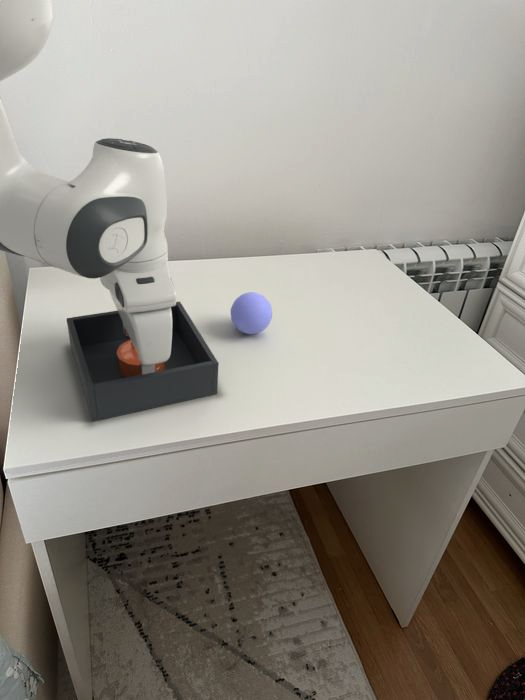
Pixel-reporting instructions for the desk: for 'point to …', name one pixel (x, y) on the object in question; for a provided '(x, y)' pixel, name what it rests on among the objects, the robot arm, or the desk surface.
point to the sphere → (251, 313)
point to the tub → (143, 390)
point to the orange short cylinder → (131, 361)
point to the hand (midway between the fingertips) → (138, 353)
